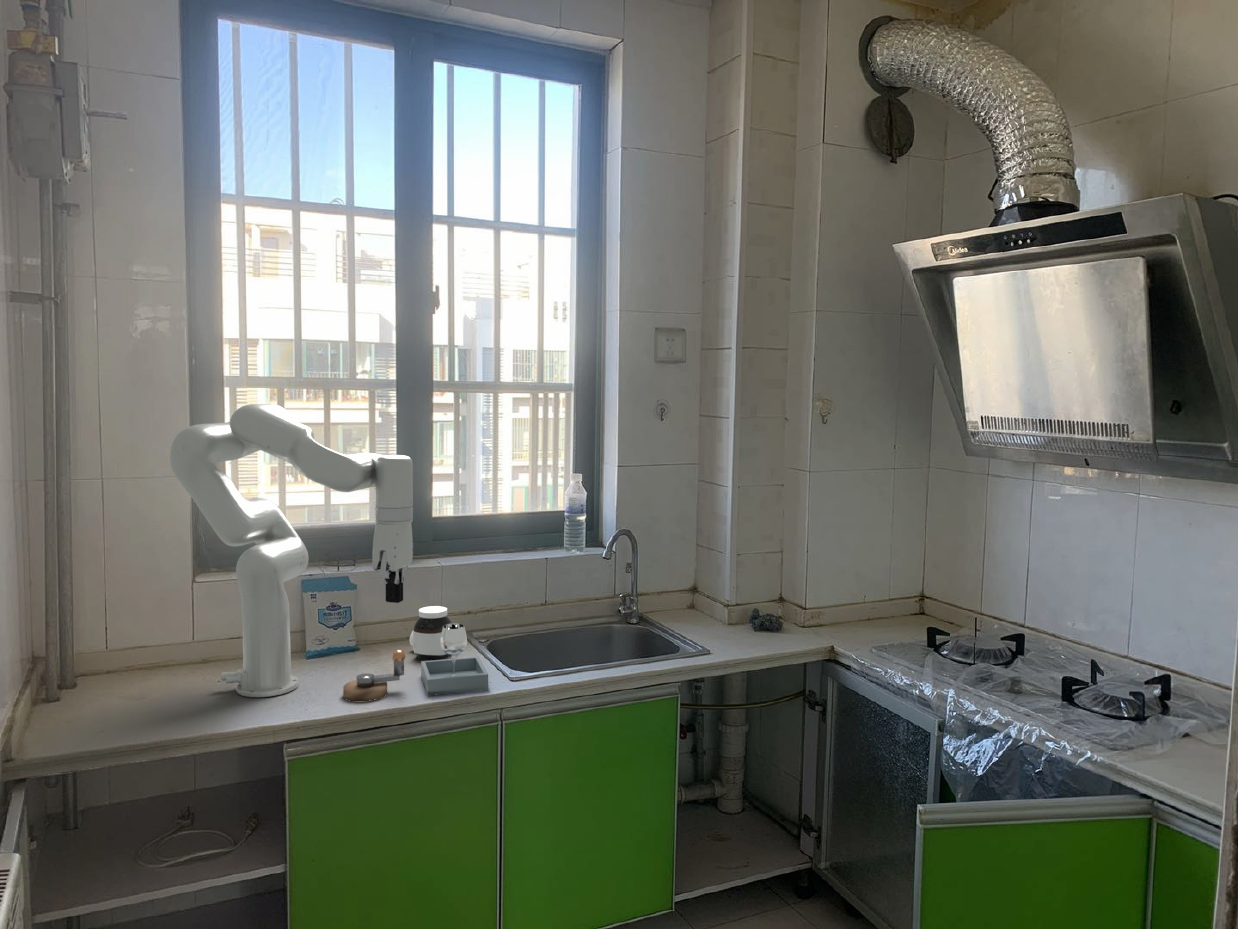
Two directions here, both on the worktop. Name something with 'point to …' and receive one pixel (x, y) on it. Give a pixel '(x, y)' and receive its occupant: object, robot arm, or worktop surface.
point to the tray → (468, 678)
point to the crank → (370, 679)
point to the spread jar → (429, 633)
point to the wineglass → (453, 641)
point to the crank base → (364, 691)
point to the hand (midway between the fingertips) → (394, 601)
